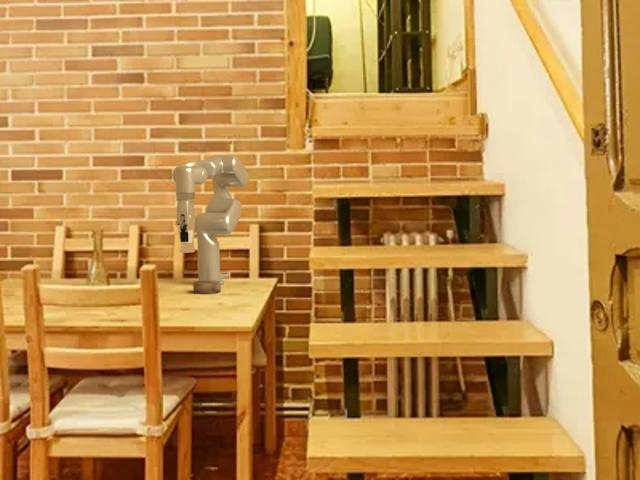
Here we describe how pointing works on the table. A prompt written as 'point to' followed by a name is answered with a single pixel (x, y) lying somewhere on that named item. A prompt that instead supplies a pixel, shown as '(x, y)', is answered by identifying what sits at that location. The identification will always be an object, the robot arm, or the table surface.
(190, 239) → the beer glass
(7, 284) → the table surface
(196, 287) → the walnut pedestal
